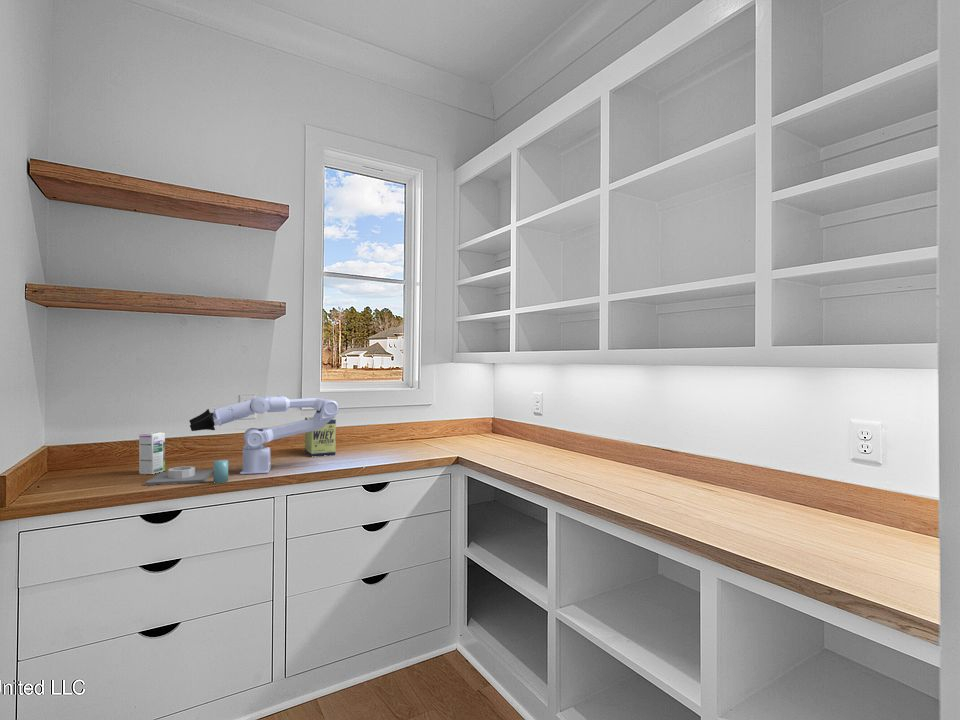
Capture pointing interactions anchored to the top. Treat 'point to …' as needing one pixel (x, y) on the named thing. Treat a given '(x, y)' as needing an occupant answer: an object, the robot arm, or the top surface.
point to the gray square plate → (180, 476)
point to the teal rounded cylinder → (220, 471)
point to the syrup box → (151, 453)
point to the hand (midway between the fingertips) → (190, 425)
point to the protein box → (321, 440)
